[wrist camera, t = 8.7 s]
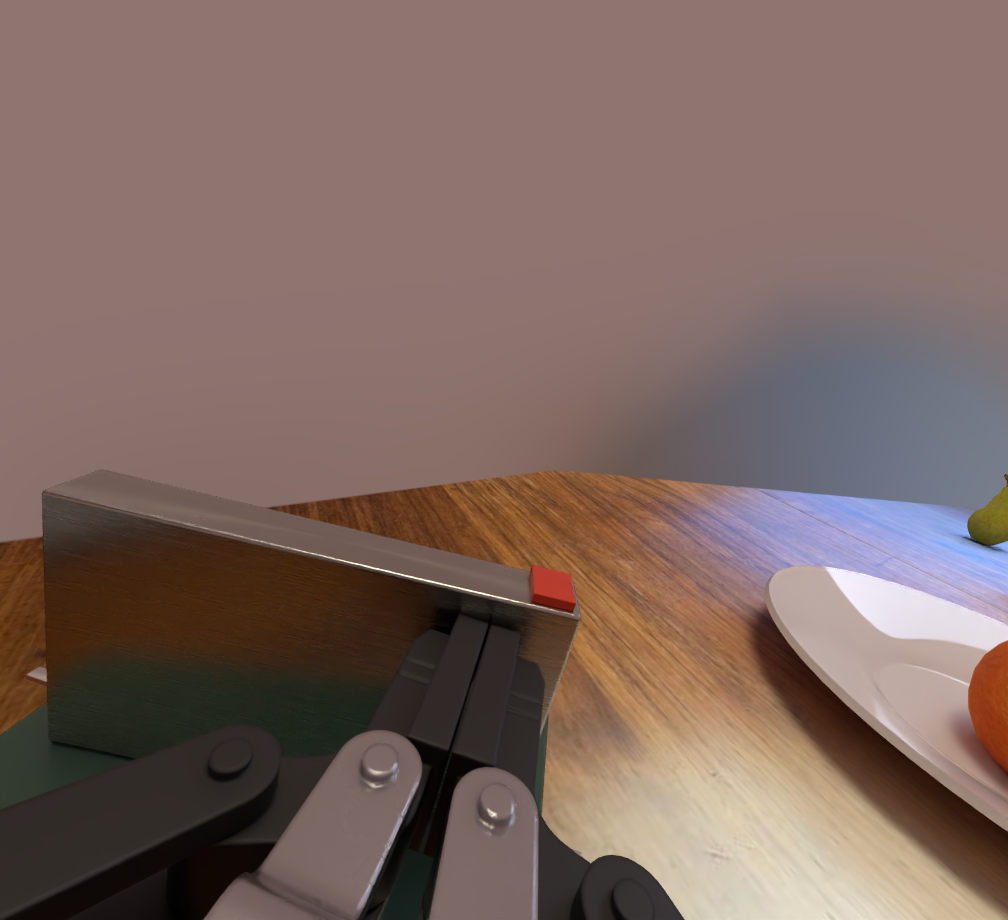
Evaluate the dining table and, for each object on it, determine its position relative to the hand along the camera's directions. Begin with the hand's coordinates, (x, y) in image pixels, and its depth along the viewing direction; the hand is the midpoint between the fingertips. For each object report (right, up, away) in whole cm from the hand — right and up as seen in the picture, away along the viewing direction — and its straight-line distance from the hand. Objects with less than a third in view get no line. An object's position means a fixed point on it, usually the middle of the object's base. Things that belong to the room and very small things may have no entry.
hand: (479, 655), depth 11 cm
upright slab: (-5, -4, +2) cm, 7 cm away
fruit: (+81, -10, +70) cm, 108 cm away
